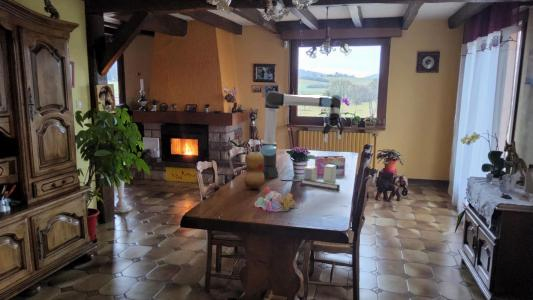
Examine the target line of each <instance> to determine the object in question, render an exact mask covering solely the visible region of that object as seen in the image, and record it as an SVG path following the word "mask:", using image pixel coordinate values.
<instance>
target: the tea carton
mask: <svg viewBox="0 0 533 300" xmlns="http://www.w3.org/2000/svg"><path fill="white" fill-rule="evenodd" d="M336 176H337V175H336V165H330V164H328V165H326V166H324V175H323V182H327V183H333V184H334V183H335V182H336V178H337V177H336Z"/></svg>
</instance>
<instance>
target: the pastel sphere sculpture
mask: <svg viewBox="0 0 533 300" xmlns="http://www.w3.org/2000/svg"><path fill="white" fill-rule="evenodd" d="M263 193H264V194H265V198H263V197H261V196H260V197H258V198H257V200H255V202H254V206H255V208H259V207H262V208H261V209H262V210H263V211H265V212H276V213H277V212H288V211H290V209H294V208H297V202H296V201H295V200H294V199H293V197H294V195H293V194H292V193H290V192H287V194H286V196H284V195H282V194H281V193H279V192H277V191H276V190H274V191H273V190H271V188H270V187H268V186H266V187H265V188H263ZM266 210H267V211H266Z"/></svg>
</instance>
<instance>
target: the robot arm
mask: <svg viewBox="0 0 533 300" xmlns="http://www.w3.org/2000/svg"><path fill="white" fill-rule="evenodd" d="M341 102H342V97H341V96H340V94H339V95H338V94H333V95H331V97H330V96H325V95H301V94H300V95H299V94H286V93H284V92H278V91H275V90H270V91H268V92H267V93H266V94H265V97H264V109H265V122H264V123H265V124H264V125H265V126H264V138H263V141H261V149H260V153H261V154H263V156H264V168H263V174H264V179H267V180H269V179H270V180H271V179H272V180H273V179H277V178H279V171H278V168H277V152H278V149H277V144H278V143H277V142H276V132H277V118H278V111H279V110H280V107H284V106H302V107H318V108H319V107H321V108H329V121H326V123H325V126H324V128H323V130H322V133H321V134H323V142H324V143H328V140H329V139H328V136H329V134H328V133H329V132H330V130H331V129H332V128H333V127H337V129H338V130H337V140H341V139H342V135H343V130H345V126H344V123H343V119H342V118H340V117H341V116H340V114H341Z"/></svg>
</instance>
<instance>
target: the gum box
mask: <svg viewBox="0 0 533 300" xmlns="http://www.w3.org/2000/svg"><path fill="white" fill-rule="evenodd" d="M328 164H330V165H336V176H337V175H346V174H345V172H346V157H345V156H343V155H331V156H327V155H325V156H323V155H322V156H318V155H317V156H315V157H314V166H315V167H317V176H324V166H326V165H328Z"/></svg>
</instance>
